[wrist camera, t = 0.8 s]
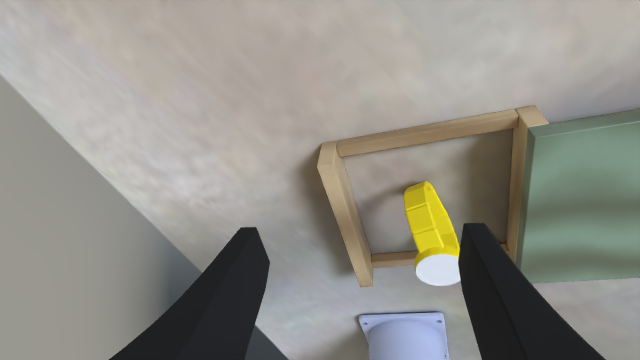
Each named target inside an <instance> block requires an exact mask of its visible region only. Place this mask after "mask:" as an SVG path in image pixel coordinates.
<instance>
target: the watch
mask: <svg viewBox="0 0 640 360" xmlns="http://www.w3.org/2000/svg"><path fill="white" fill-rule="evenodd" d="M404 204H405V211H406V216H407V220H408V223H409V227H410V230H411V233H412V234H413V235H412V237H413V239H414V241H415V244H416V246H417V249H418V251H419V253H418V254H417V256H416V257H415V263H414V264H415V272H416V274H417V276H418V278H419V279H420V280H422V281H423V282H425V283H427V284H431V285H435V286H445V285H451V284H454V283H457V282H459V281H460V280H461V279H460V273H459V267H458V258H459V252H460V246H459V243H458V240H457V237H456V234H455V233H454V232H455V231H454V228H453V226H452V223H451V221H450V218H449V216H448V213H447V212H446V210H445V208H444V207H443V205H442V203H441V201H440V199H439V197H438V195H437V194H436V192H435V190H434V188H433V186H432V185H431V184H430V183H429V182H427V181H424V182H422V183H419V184H416V185H414V186H411V187H408V188H407V189H406V191H405V194H404Z"/></svg>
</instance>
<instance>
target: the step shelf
mask: <svg viewBox="0 0 640 360" xmlns="http://www.w3.org/2000/svg"><path fill="white" fill-rule="evenodd" d="M513 128H514V133H513V148H512V163H511V179H510V194H509V209H508V225H507V240H506V244H505V243H504V244H500V245H501V247H502V248H503V249H504V251H505V252H506V253H507V255H508V256H509V257H510V258H511V260H512V261H513V262H514V264H515V265H516V266H517V267H518V269H519V270H520V271H521V272H522V273H523V275H524V276H525V277H526V278H527V279H528V281H529V282H530V283H548V282H567V281H585V280H604V279H622V278H640V109H637V110H631V111H625V112H619V113H613V114H607V115H601V116H594V117H588V118H582V119H576V120H570V121H564V122H558V123H552V124H549V122H548V121H547V120H546V119H545V117H544V116H543V115H542V114H541V112H540V111H539V110H538V109H537V107H536V106H535V105H533V106H528V107H522V108H516V109H511V110H505V111H500V112H494V113H489V114H483V115H478V116H472V117H467V118H461V119H455V120H450V121H444V122H439V123H433V124H428V125H422V126H416V127H411V128H405V129H400V130H394V131H389V132H383V133H377V134H372V135H366V136H361V137H355V138H350V139H344V140H339V141H332V142H326V143H322V146H321V150H320V155H319V160H318V164H317V168H318V171H319V174H320V177H321V179H322V182H323V185H324V188H325V191H326V193H327V196H328V199H329V202H330V204H331V207H332V210H333V213H334V215H335V218H336V221H337V224H338V227H339V229H340V232H341V235H342V238H343V240H344V243H345V246H346V249H347V251H348V254H349V257H350V260H351V262H352V265H353V268H354V271H355V274H356V276H357V279H358V282H359V285H360V287H369V286H373V268H380V267H393V266H407V265H415V264H414V263H415V257H416V256H417V254H418V253H419V251H408V252H396V253H385V254H373V255H371V253H370V249H369V246H368V243H367V239H366V236H365V233H364V229H363V226H362V223H361V219H360V216H359V213H358V209H357V206H356V203H355V199H354V196H353V193H352V189H351V186H350V183H349V179H348V176H347V173H346V169H345V166H344V163H343V159H342V157H344V156H350V155H356V154H362V153H368V152H374V151H380V150H386V149H392V148H398V147H404V146H411V145H417V144H423V143H429V142H435V141H441V140H447V139H453V138H459V137H465V136H471V135H477V134H483V133H489V132H495V131H501V130H507V129H513Z"/></svg>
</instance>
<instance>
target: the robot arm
mask: <svg viewBox="0 0 640 360" xmlns="http://www.w3.org/2000/svg"><path fill="white" fill-rule="evenodd" d="M269 265H270V261H269V259H268V256H267V254H266V251H265V249H264V246H263V243H262V241H261V238H260V236H259V233H258V231H257V228H256V227H244V228H240V229H239V230H238V231H237V233H236V234H235V235H234V236H233V237H232V239H231V240H230V241H229V242H228V243H227V245H226V246H225V247H224V248H223V250H222V251H221V252H220V253H219V254H218V256H217V257H216V258H215V259H214V260H213V262H212V263H211V264H210V265H209V266H208V267H207V269H206V270H205V271H204V272H203V273H202V274H201V276H200V277H199V278H198V279H197V280H196V281H195V282H194V283H193V284H192V285H191V286H190V288H189V289H188V290H187V291H186V292H185V293H184V294H183V295H182V296H181V297H180V298H179V299H178V300H177V301H176V302H175V303H174V304H173V305H172V306H171V307H170V308H169V309H168V310H167V311H166V312H165V313H164V314H163V315H162V316H161V317H160V318H159V319H158V320H156V321H155V322H154V323H153V324H152V325H151V326H150V327H149V328H147V329H146V330H145V331H144V332H143V333H141V334H140V335H139V336H138V337H137V338H136V339H134V340H133V341H132V342H131V343H129V344H128V345H127V346H126V347H125V348H123V349H122V350H121V351H119V352H118V353H117V354H116V355H114V356H113V357H112V358H110V359H109V360H244V359H245V355H246V352H247V348H248V344H249V341H250V338H251V335H252V331H253V328H254V325H255V322H256V318H257V315H258V312H259V309H260V305H261V302H262V298H263V295H264V292H265V288H266V283H267V277H268V271H269ZM458 267H459V273H460V279H461V285H462V291H463V295H464V299H465V302H466V306H467V309H468V313H469V316H470V320H471V323H472V326H473V330H474V333H475V337H476V340H477V344H478V347H479V351H480V354H481V357H482V360H605V359H604V358H603V357H602V356H601V355H600V354H599V353H598V352H597V351H596V350H595V349H594V348H592V347H591V346H590V345H589V344H588V343H587V342H586V341H585V340H584V339H583V338H582V337H581V336H580V335H579V334H578V333H577V332H576V331H575V330H574V329H573V328H572V327H571V326H570V325H569V324H568V323H567V322H566V321H565V320H564V319H563V318H562V317H561V316H560V315H559V314H558V313H557V312H556V311H555V310H554V309H553V308H552V307H551V306H550V304H549V303H548V302H547V301H546V300H545V299H544V298H543V297H542V296H541V295H540V293H539V292H538V291H537V290H536V289H535V288H534V287H533V285H532V284H531V283H530V282H529V281H528V279H527V278H526V277H525V276H524V275H523V273H522V272H521V271H520V270H519V269H518V267H517V266H516V265H515V264H514V262H513V261H512V260H511V258H510V257H509V256H508V255H507V253H506V252H505V251H504V249H503V248H502V247H501V245H500V244H499V242H498V241H497V240H496V238H495V237H494V235H493V234H492V233H491V231H490V230H489V228H488V227H487V225H485V224H484V223H466V224H464V226H463V232H462V239H461V245H460V252H459V258H458ZM359 322H360V325H361V327H362V330H363V332H364V335H365V337H366V340H367V342H368V345H369V360H449V355H448V347H447V339H446V330H445V322H444V315H443V314H442V313H439V312H435V313H407V314H379V315H361V316H359Z"/></svg>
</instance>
